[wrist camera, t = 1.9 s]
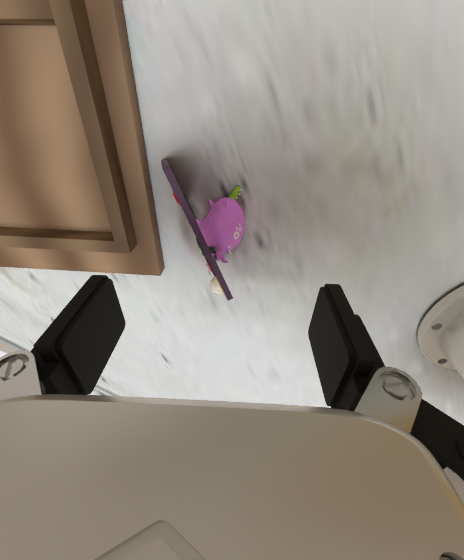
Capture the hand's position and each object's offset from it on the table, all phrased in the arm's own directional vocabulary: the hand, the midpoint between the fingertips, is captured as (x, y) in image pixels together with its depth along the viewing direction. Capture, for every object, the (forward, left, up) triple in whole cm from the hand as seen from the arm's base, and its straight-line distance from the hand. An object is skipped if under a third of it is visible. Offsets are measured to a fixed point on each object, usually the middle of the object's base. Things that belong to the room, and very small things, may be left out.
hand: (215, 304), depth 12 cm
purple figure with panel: (+1, -1, -11) cm, 11 cm away
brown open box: (+14, -5, -11) cm, 18 cm away
